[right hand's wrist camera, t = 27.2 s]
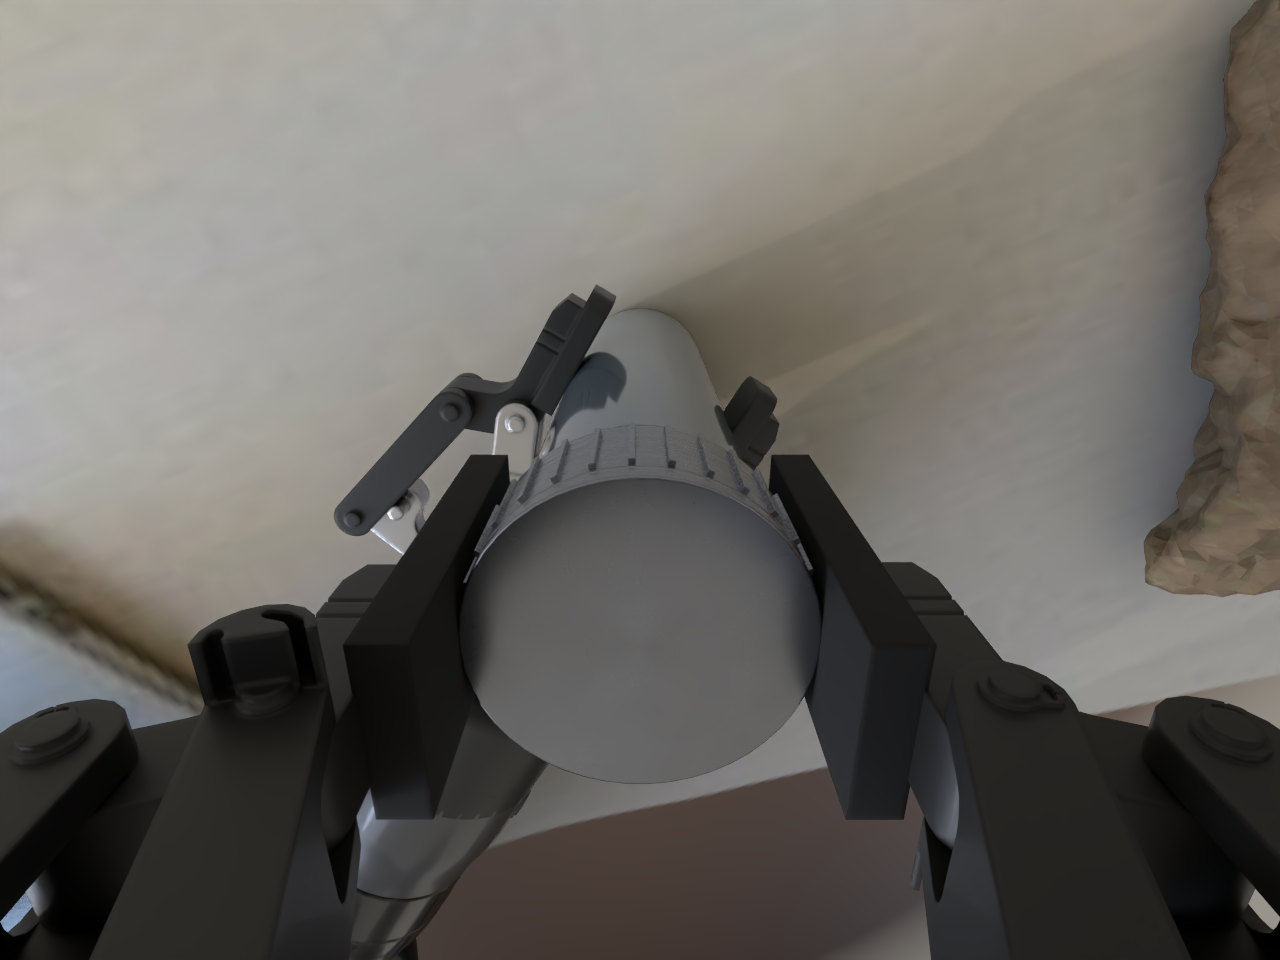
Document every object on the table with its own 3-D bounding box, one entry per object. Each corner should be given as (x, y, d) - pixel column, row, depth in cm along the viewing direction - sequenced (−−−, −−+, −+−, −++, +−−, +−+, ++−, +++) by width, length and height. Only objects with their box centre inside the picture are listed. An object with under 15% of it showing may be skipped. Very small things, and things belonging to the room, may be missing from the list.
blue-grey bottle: (627, 281, 26) (608, 403, 10) (726, 359, 27) (851, 580, 11) (554, 382, 27) (434, 629, 11) (650, 452, 28) (665, 767, 12)
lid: (565, 361, 11) (546, 400, 9) (856, 509, 12) (904, 576, 10) (438, 624, 13) (397, 709, 11) (699, 734, 14) (710, 832, 12)
